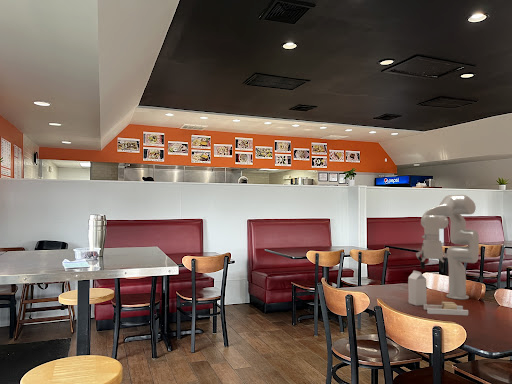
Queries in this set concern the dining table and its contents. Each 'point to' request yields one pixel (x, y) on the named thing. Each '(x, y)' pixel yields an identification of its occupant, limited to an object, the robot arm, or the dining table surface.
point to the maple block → (449, 305)
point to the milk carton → (417, 289)
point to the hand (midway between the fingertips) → (431, 269)
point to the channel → (444, 310)
